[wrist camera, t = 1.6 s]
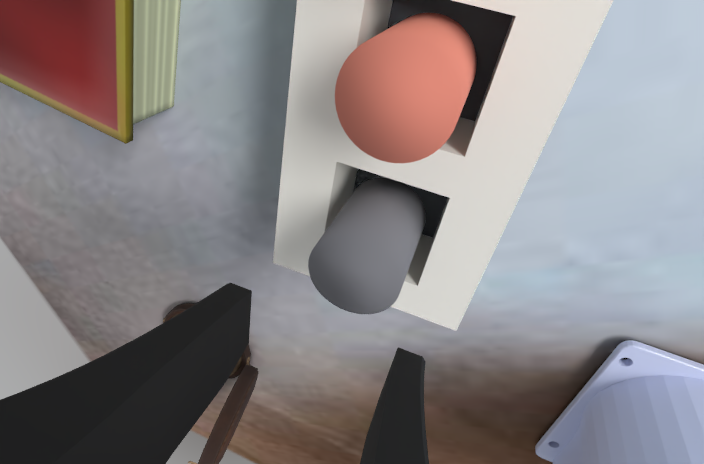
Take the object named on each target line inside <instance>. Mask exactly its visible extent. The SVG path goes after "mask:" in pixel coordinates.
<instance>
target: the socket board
mask: <svg viewBox="0 0 704 464" xmlns="http://www.w3.org/2000/svg"><path fill="white" fill-rule="evenodd" d="M452 1H456V2H460V3H465V4H469V5H473V6H477V7H481V8H485V9H489V10H493V11H497V12H501V13H505V14H509V15H513V18H512V21H511V23H510V26H509V29H508V32H507V34H506V37H505V40H504V43H503V45H502V48H501V51H500V54H499V57H498V59H497V62H496V65H495V68H494V70H493V73H492V76H491V79H490V82H489V84H488V87H487V90H486V93H485V95H484V98H483V101H482V104H481V106H480V109H479V112H478V115H477V118H476V120H475V121H472V120H468V119H465V118H462V117H459V119H458V122H457V124H456V126H455V129H454V131H453V132H452V134H451V136H450V137H449V139H448V140H447V141H446V143H445V144H444V145H443V146H442V147H441V148H440V149H438V150H437V151H436V152H434V153H433V154H431V155H430V156H428V157H426V158H424V159H421V160H419V161H415V162H410V163H389V162H385V161H381V160H379V159H376V158H374V157H372V156H370V155H368V154H366V153H365V152H363V151H362V150H361V149H359V148H358V147H357V146H356V145H355V144H354V143H353V142H352V141H351V140H350V138H349V137H348V136H347V134H346V133H345V131H344V129H343V127H342V126H341V123H340V121H339V118H338V115H337V111H336V105H335V86H336V82H337V77H338V75H339V72H340V69H341V67H342V66H343V64H344V62H345V60H346V59H347V58H348V56H349V55H350V54H351V53H352V52H353V51H354V50H355V49H356V48H357V47H358V46H360V45H361V44H362V43H364V42H366V41H367V40H369V39H371V38H373V37H374V36H376V35H378V34H380V33H381V32H383V31H385V30H387V27H388V22H389V17H390V13H391V8H392V3H393V0H297V6H296V17H295V28H294V39H293V49H292V60H291V71H290V82H289V93H288V104H287V115H286V125H285V136H284V147H283V158H282V169H281V180H280V191H279V201H278V212H277V223H276V234H275V245H274V256H273V263H275V264H277V265H280V266H283V267H285V268H288V269H291V270H293V271H296V272H299V273H301V274H304V275H307V276H310V274H309V269H308V261H309V256H310V254H311V251H312V250H313V248H314V247H315V245H316V244H317V243H318V241H319V240H320V238H321V237H322V235H323V234H324V233H325V231H326V230H327V228H328V227H329V226H330V224H331V223H332V221H333V220H334V219H335V217H336V216H337V214H338V213H339V212H340V210H341V209H342V207H343V206H344V205H345V203H346V202H347V200H348V199H349V198H350V196H351V195H352V193H353V190H354V185H355V180H356V176H357V171H358V169H362V170H365V171H368V172H371V173H374V174H377V175H380V176H383V177H386V178H390V179H393V180H396V181H399V182H402V183H405V184H408V185H411V186H414V187H418V188H421V189H424V190H427V191H430V192H433V193H436V194H439V195H442V196H446V197H448V198H447V201H446V204H445V206H444V209H443V212H442V215H441V217H440V220H439V223H438V226H437V228H436V231H435V234H434V237H433V238H432V237H429V236H426V235H423V234H421V237H420V239H419V242H418V245H417V248H416V250H415V253H414V256H413V259H412V261H411V264H410V267H409V270H408V272H407V275H406V278H405V281H404V283H403V286H402V289H401V291H400V294H399V296H398V298H397V300H396V301H395V303H394V304H393V305H392V306H390V307H393V308H396V309H398V310H401V311H404V312H407V313H409V314H412V315H415V316H417V317H420V318H423V319H425V320H428V321H431V322H433V323H436V324H439V325H442V326H444V327H447V328H450V329H452V330H455V331H457V328H458V326H459V324H460V322H461V320H462V318H463V316H464V314H465V312H466V309H467V307H468V305H469V303H470V301H471V299H472V297H473V295H474V293H475V291H476V288H477V286H478V284H479V282H480V280H481V278H482V276H483V274H484V272H485V270H486V267H487V265H488V263H489V261H490V259H491V257H492V255H493V253H494V251H495V248H496V246H497V244H498V242H499V240H500V238H501V236H502V234H503V232H504V230H505V227H506V225H507V223H508V221H509V219H510V217H511V215H512V213H513V211H514V209H515V206H516V204H517V202H518V200H519V198H520V196H521V194H522V192H523V190H524V187H525V185H526V183H527V181H528V179H529V177H530V175H531V173H532V171H533V169H534V166H535V164H536V162H537V160H538V158H539V156H540V154H541V152H542V150H543V148H544V145H545V143H546V141H547V139H548V137H549V135H550V133H551V131H552V129H553V126H554V124H555V122H556V120H557V118H558V116H559V114H560V112H561V110H562V108H563V105H564V103H565V101H566V99H567V97H568V95H569V93H570V91H571V89H572V86H573V84H574V82H575V80H576V78H577V76H578V74H579V72H580V70H581V68H582V65H583V63H584V61H585V59H586V57H587V55H588V53H589V51H590V49H591V47H592V44H593V42H594V40H595V38H596V36H597V34H598V32H599V30H600V28H601V25H602V23H603V21H604V19H605V17H606V15H607V13H608V11H609V9H610V7H611V4H612V2H613V0H452Z"/></svg>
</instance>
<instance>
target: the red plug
mask: <svg viewBox="0 0 704 464" xmlns="http://www.w3.org/2000/svg"><path fill="white" fill-rule="evenodd" d="M476 67H477V58H476V51H475V47H474V44H473V42H472V40H471V38H470V36H469V34H468V33H467V31H466V30H465V29H464V28H463V27H462V26H461V25H460V24H459V23H458V22H456V21H455V20H454V19H452V18H450V17H448V16H445V15H442V14H438V13H420V14H416V15H413V16H410V17H408V18H406V19H404V20H403V21H401V22H399V23H397V24H395V25H394V26H392V27H390V28H388V29H387V30H385V31H383V32H381V33H380V34H378V35H376V36H374V37H373V38H371V39H369V40H367V41H366V42H364V43H362V44H361V45H360V46H358V47H357V48H356V49H355V50H354V51H353V52H352V53H351V54H350V55H349V56H348V58H347V59H346V60H345V62H344V64H343V66H342V67H341V69H340V72H339V75H338V77H337V82H336V86H335V105H336V111H337V115H338V118H339V121H340V123H341V126H342V127H343V129H344V131H345V133H346V134H347V136H348V137H349V138H350V140H351V141H352V142H353V143H354V144H355V145H356V146H357V147H358V148H359V149H361V150H362V151H363V152H365V153H366V154H368V155H370V156H372V157H374V158H376V159H379V160H381V161H385V162H389V163H410V162H415V161H419V160H421V159H424V158H426V157H428V156H430V155H431V154H433V153H434V152H436V151H437V150H438V149H440V148H441V147H442V146H443V145H444V144H445V143H446V141H447V140H448V139H449V137H450V136H451V134H452V132H453V131H454V129H455V126H456V124H457V122H458V119H459V116H460V114H461V111H462V109H463V106H464V104H465V101H466V99H467V96H468V94H469V91H470V89H471V86H472V84H473V81H474V78H475V74H476Z"/></svg>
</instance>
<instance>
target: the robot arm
mask: <svg viewBox="0 0 704 464" xmlns="http://www.w3.org/2000/svg"><path fill="white" fill-rule="evenodd" d="M251 293H252V291H251V290H248V289H245V288H243V287H240V286H238V285H235V284H232V283H229V284H226V285H225V286H223V287H222V288H220V289H218V290H217V291H215V292H214V293H212V294H211V295H209V296H207V297H206V298H204V299H203V300H201V301H199V302H198V303H196V304H195V305H193V306H191V307H190V308H188V309H186V310H185V311H183V312H182V313H180V314H178V315H177V316H175V317H173V318H171V319H170V320H168V321H166V322H165V323H163V324H161V325H159V326H158V327H156V328H154V329H153V330H151V331H149V332H147V333H146V334H144V335H142V336H140V337H138V338H136V339H134V340H133V341H131V342H129V343H127V344H125V345H123V346H121V347H119V348H117V349H116V350H114V351H112V352H110V353H108V354H106V355H104V356H102V357H100V358H98V359H96V360H94V361H92V362H89V363H87V364H85V365H83V366H81V367H79V368H77V369H74V370H72V371H70V372H68V373H65V374H63V375H61V376H59V377H56V378H54V379H52V380H49V381H47V382H44V383H42V384H40V385H37V386H35V387H32V388H30V389H27V390H25V391H22V392H20V393H17V394H15V395H12V396H9V397H7V398H4V399H1V400H0V464H166V462H167V461H168V459H169V458H170V456H171V455H172V453H173V452H174V450H175V449H176V448H177V447H178V445H179V444H180V443H181V441H182V440H183V439H184V437H185V436H186V435H187V433H188V432H189V431H190V429H191V428H192V427H193V425H194V424H195V423H196V421H197V420H198V419H199V417H200V416H201V415H202V413H203V412H204V411H205V409H206V408H207V407H208V405H209V404H210V403H211V401H212V400H213V398H214V397H215V396H216V394H217V393H218V392H219V390H220V389H221V388H222V386H223V385H224V383H225V382H226V381H227V379H228V378H229V376H230V375H231V373H232V371H233V370H234V368H235V366H236V365H237V363H238V361H239V359H240V358H241V356H242V354H243V352H244V350H245V349H246V347H247V345H248V343H249V328H250V310H251ZM621 358H629V359H626V360H623V359H621ZM424 370H425V360H424V359H423V357H422V356H419V355H416V354H414V353H411V352H409V351H406V350H403V349H401V348H398V349H397V351H396V354H395V357H394V360H393V362H392V365H391V368H390V370H389V373H388V376H387V378H386V381H385V384H384V387H383V389H382V392H381V395H380V397H379V400H378V403H377V406H376V409H375V412H374V415H373V418H372V421H371V425H370V428H369V431H368V434H367V437H366V441H365V445H364V449H363V453H362V458H361V462H360V464H429V460H428V451H427V440H426V430H425V416H424ZM535 452H536V454H537V455H538V456H539V457H541V458H543V459H545V460H548V461H550V462H553V464H704V365H703V364H700V363H697V362H694V361H692V360H689V359H686V358H683V357H680V356H677V355H674V354H672V353H669V352H666V351H663V350H660V349H657V348H654V347H652V346H649V345H646V344H643V343H640V342H637V341H633V340H628V341H624V342H621V343H620V344H619V345H618V346H617V347H616V348H615V350H614V351H613V352H612V353H611V354H610V356H609V357H608V358H607V359H606V361H605V362H604V363H603V364H602V365H601V367H600V368H599V369H598V370H597V371H596V373H595V374H594V375H593V376H592V377H591V379H590V380H589V381H588V382H587V384H586V385H585V386H584V387H583V388H582V390H581V391H580V392H579V393H578V394H577V396H576V397H575V398H574V399H573V400H572V402H571V403H570V404H569V405H568V407H567V408H566V409H565V410H564V411H563V413H562V414H561V415H560V416H559V417H558V419H557V420H556V421H555V422H554V423H553V425H552V426H551V427H550V428H549V430H548V431H547V432H546V433H545V434H544V436H543V437H542V438H541V439H540V440H539V442H538V443H537V444H536V446H535Z"/></svg>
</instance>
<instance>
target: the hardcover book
mask: <svg viewBox="0 0 704 464" xmlns="http://www.w3.org/2000/svg"><path fill="white" fill-rule="evenodd" d="M180 4H181V0H0V82H1V83H3V84H6V85H8V86H10V87H12V88H14V89H16V90H18V91H20V92H22V93H24V94H26V95H28V96H30V97H32V98H34V99H36V100H38V101H40V102H42V103H44V104H46V105H48V106H50V107H52V108H54V109H56V110H59V111H61V112H63V113H65V114H67V115H69V116H71V117H73V118H75V119H77V120H79V121H81V122H83V123H85V124H87V125H89V126H91V127H93V128H95V129H97V130H99V131H101V132H103V133H105V134H107V135H110V136H112V137H114V138H116V139H118V140H120V141H122V142H124V143H128V142H130V141H132V140H133V124H135V123H137V122H139V121H142V120H144V119H146V118H148V117H151V116H153V115H155V114H157V113H160V112H162V111H164V110H166V109H169V108H171V107H173V106H174V92H175V78H176V63H177V48H178V34H179V19H180Z"/></svg>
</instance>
